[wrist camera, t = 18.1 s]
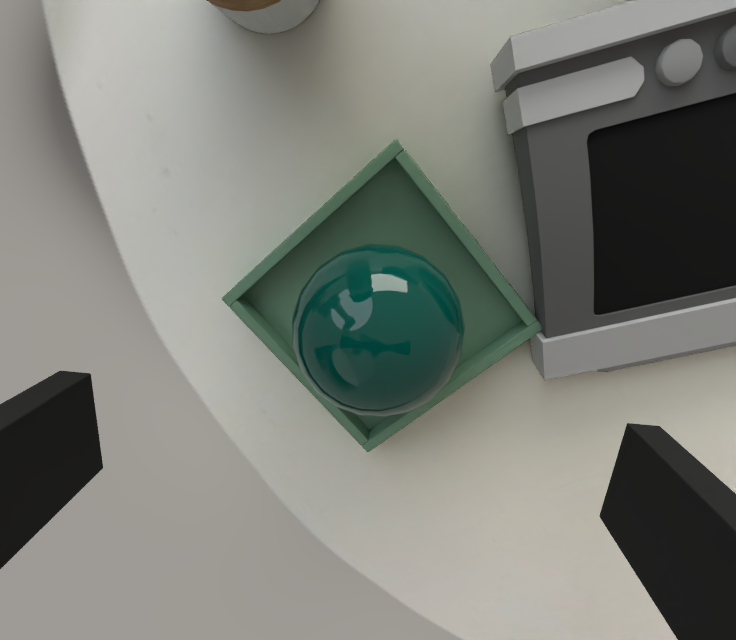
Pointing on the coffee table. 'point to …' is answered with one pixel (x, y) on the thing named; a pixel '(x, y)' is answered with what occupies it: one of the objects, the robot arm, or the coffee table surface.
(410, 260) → the sphere
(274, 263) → the tray
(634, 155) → the alarm clock
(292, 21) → the coffee cup
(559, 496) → the coffee table surface
